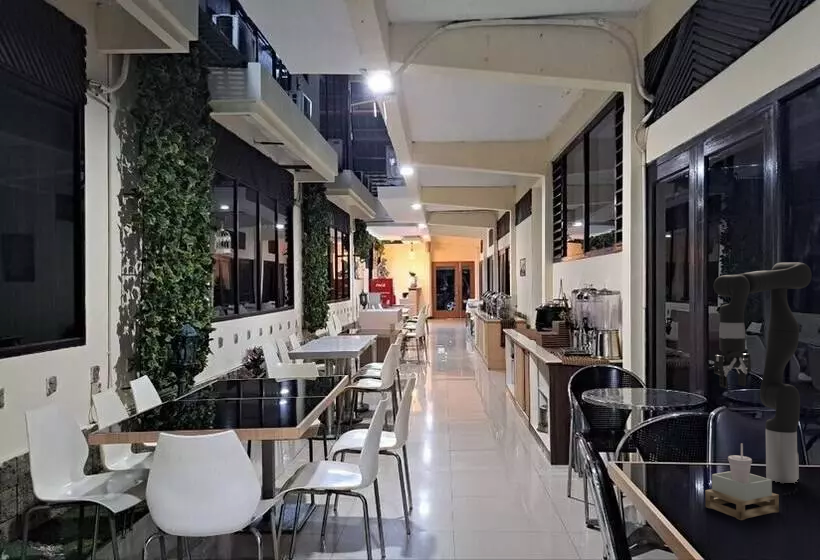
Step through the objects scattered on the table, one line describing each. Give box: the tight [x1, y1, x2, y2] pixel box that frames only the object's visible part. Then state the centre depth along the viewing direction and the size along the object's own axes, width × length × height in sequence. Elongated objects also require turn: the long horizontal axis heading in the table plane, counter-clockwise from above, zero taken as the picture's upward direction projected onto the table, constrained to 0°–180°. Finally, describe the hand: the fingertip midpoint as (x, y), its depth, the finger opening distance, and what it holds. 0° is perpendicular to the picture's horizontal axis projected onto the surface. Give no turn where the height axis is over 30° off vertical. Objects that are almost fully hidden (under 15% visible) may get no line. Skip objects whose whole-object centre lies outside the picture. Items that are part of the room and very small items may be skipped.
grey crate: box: [711, 470, 773, 501], centre depth 185 cm, size 11×11×5 cm
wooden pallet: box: [704, 488, 780, 521], centre depth 185 cm, size 16×12×5 cm
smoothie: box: [727, 443, 753, 484], centre depth 185 cm, size 6×6×14 cm
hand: (732, 386), depth 202 cm, fingers open, 8 cm apart
